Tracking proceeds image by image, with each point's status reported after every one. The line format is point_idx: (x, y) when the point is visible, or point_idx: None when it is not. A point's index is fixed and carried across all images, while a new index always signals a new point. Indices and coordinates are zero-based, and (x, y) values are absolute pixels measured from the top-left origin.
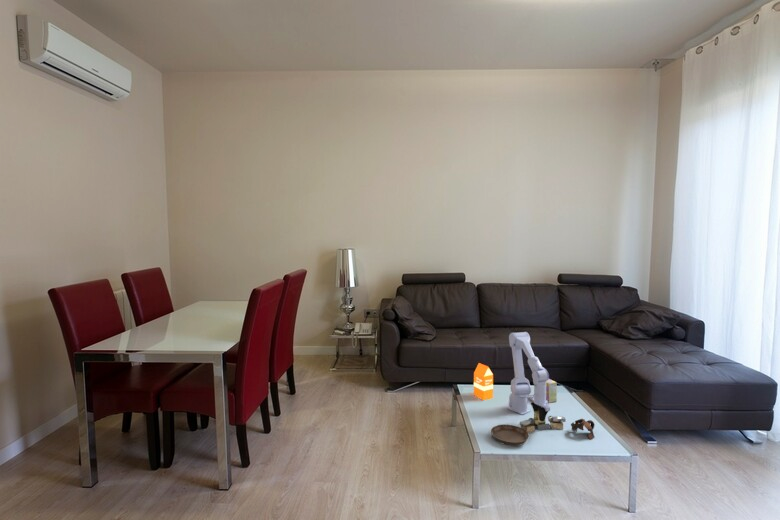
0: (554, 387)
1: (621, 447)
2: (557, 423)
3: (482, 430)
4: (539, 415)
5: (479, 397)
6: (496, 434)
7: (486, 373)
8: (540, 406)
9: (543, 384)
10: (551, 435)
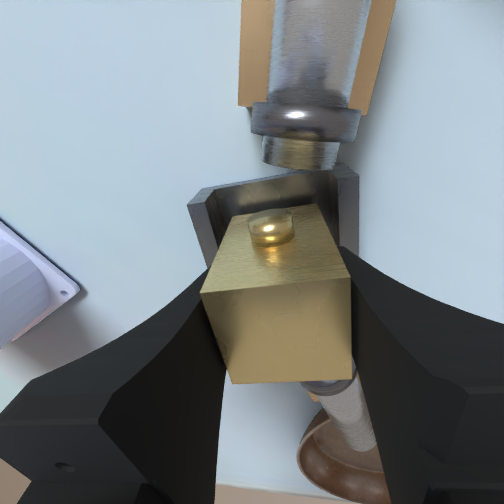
0: None
1: None
2: (381, 30)
3: (296, 476)
4: (354, 356)
5: None
6: (349, 460)
7: None
8: (169, 362)
9: None
10: (466, 196)
